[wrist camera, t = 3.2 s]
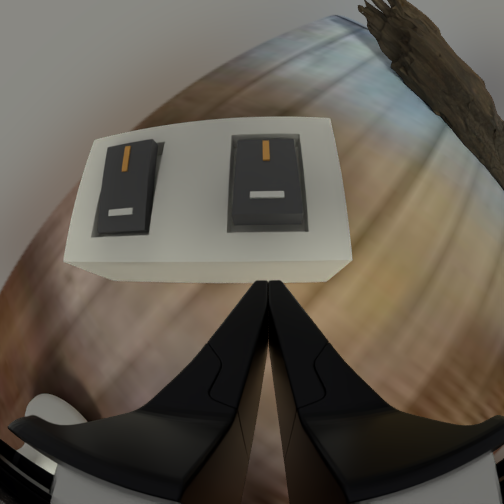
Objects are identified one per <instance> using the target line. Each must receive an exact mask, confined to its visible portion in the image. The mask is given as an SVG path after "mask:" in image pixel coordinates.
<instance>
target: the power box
mask: <svg viewBox="0 0 504 504" xmlns="http://www.w3.org/2000/svg"><path fill="white" fill-rule="evenodd" d="M148 139H153V140H154V141H155V142H156V143H157V144H158V151H157V160H156V169H155V180H154V193H153V208H152V215H151V222H150V230H149V232H146V233H124V234H102V233H98V217H99V206H100V196H101V187H102V179H103V172H104V166H105V159H106V153H107V148H108V147H111V146H116V145H121V144H126V143H131V142H137V141H142V140H148ZM248 139H294V144H295V151H296V158H297V166H298V173H299V181H300V189H301V198H302V207H303V218H302V224H287V225H234V223H233V218H232V204H233V191H234V178H235V166H236V154H237V142H238V140H248ZM351 261H352V251H351V241H350V232H349V223H348V215H347V207H346V200H345V194H344V187H343V181H342V175H341V169H340V164H339V158H338V153H337V148H336V143H335V138H334V133H333V129H332V124H331V120H330V118H319V117H242V118H226V119H213V120H203V121H194V122H185V123H178V124H171V125H164V126H158V127H152V128H146V129H141V130H135V131H130V132H126V133H121V134H117V135H112V136H108V137H104V138H100V139H96V140H94V143H93V146H92V148H91V151H90V154H89V157H88V160H87V163H86V166H85V169H84V172H83V176H82V179H81V182H80V186H79V189H78V193H77V197H76V201H75V205H74V209H73V213H72V217H71V222H70V227H69V232H68V237H67V242H66V248H65V254H64V261H63V262H65V263H68V264H70V265H73V266H75V267H78V268H81V269H83V270H86V271H88V272H91V273H94V274H96V275H99V276H102V277H104V278H107V279H110V280H113V281H135V282H174V283H254V282H255V281H256V280H267V281H268V282H269V281H270V280H281V281H282V282H283V283H296V282H327V281H328V280H329V279H330V278H332V277H333V276H334V275H335V274H336V273H338V272H339V271H340V270H341V269H342V268H344V267H345V266H346V265H347V264H348V263H349V262H351Z"/></svg>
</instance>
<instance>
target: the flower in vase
mask: <svg viewBox="0 0 504 504" xmlns="http://www.w3.org/2000/svg"><path fill="white" fill-rule="evenodd" d="M30 415H36V416H38V417H40V418H42V419H44V420H46V421H48V422H50V423H53V424H59V425H73V424H80V423H85V422H87V420H86V419H85V418H84V417H83V416H82V415H81V414H80V413H79V412H78V411H77V410H76V409H75V408H74V407H72V406H71V405H70V404H68V403H67V402H65V401H64V400H62V399H60V398H59V397H57V396H54V395H51V394H40V395H37V396H36V397H35V398H34V399H33V400H31V401H30V403H29V404H28V406H27V409H26V413H25V417H26V416H30ZM16 451H18V452H19V453H20V454H22V455H23V456H25V457H26V458H28V459H29V460H31V461H32V462H34V463H35V464H37V465H38V466H40V467H42V468H43V469H45V470H46V471H48V472H50V473H52V474H53V475H54V474H55V470H56V467H57V463H55V462H54V461H52V460H50V459H49V458H47V457H46V456H44V455H43V454H41V453H40V452H38V451H37V450H35V449H34V448H32V447H31V446H30V445H28V444H27V443H25V444H24V445H23V447H22V448H20V449H19V450H16Z"/></svg>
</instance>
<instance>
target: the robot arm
mask: <svg viewBox="0 0 504 504" xmlns="http://www.w3.org/2000/svg"><path fill="white" fill-rule="evenodd" d="M268 339H269V352H270V360H271V367H272V374H273V382H274V389H275V396H276V404H277V411H278V419H279V426H280V434H281V441H282V449H283V457H284V461H285V462H284V464H285V472H286V480H287V487H288V495H289V503H290V504H504V459H503V460H501V461H500V462H498V463H497V464H495V460H494V456H493V452H494V451H495V450H497V449H498V448H499V447H501V446H502V445H504V416H501V415H496V416H494V417H492V418H490V419H488V420H486V421H484V422H482V423H479V424H476V425H456V424H451V423H446V422H441V421H437V420H432V419H428V418H424V417H420V416H416V415H412V414H409V413H405V412H402V411H399V410H397V409H395V408H394V407H392V406H391V405H389V404H388V403H387V402H385V401H384V400H383V399H382V398H381V397H380V396H379V395H378V394H377V393H376V392H375V391H374V390H373V389H372V388H371V387H370V386H369V385H368V384H367V383H366V382H365V381H364V380H363V379H362V378H361V377H360V376H358V375H357V374H356V373H355V371H354V370H353V369H352V368H351V367H350V366H349V365H348V364H347V363H346V362H345V361H344V360H343V359H342V357H341V356H340V355H339V354H338V353H337V351H336V350H335V349H334V348H333V346H332V345H331V344H330V343H328V342H329V341H328V340H327V339H326V337H325V336H324V335H323V333H322V332H321V331H320V330H319V328H318V327H317V326H316V324H315V323H314V322H313V321H312V319H311V318H310V317H309V315H308V314H307V313H306V312H305V310H304V309H303V308H302V307H301V305H300V304H299V303H298V301H297V300H296V299H295V298H294V296H293V295H292V294H291V292H290V291H289V290H288V289H287V287H286V286H285V285H284V283H283V282H282V281H281V280H270V281H269V282H268V281H267V280H256V281H255V282H254V283H253V284H252V286H251V287H250V288H249V290H248V291H247V292H246V294H245V295H244V296H243V297H242V299H241V300H240V301H239V303H238V304H237V305H236V306H235V308H234V309H233V310H232V312H231V313H230V314H229V315H228V317H227V318H226V319H225V320H224V322H223V323H222V324H221V326H220V327H219V328H218V329H217V331H216V332H215V333H214V334H213V336H212V337H211V338H210V340H209V341H208V342H207V343H206V344H205V346H204V347H203V348H202V349H201V351H200V352H199V353H198V354H197V355H196V357H195V358H194V359H193V360H192V361H191V362H190V363H189V364H188V365H187V366H186V367H185V368H184V369H183V370H182V371H181V372H180V373H179V374H178V375H177V376H176V377H175V378H174V379H173V380H172V381H171V382H170V383H169V384H168V385H167V386H166V387H165V388H163V389H162V390H161V391H160V392H159V393H158V394H157V395H156V396H155V397H154V398H153V399H151V400H150V401H149V402H148V403H147V404H145V405H144V406H142V407H141V408H139V409H137V410H135V411H132V412H129V413H125V414H121V415H117V416H113V417H109V418H104V419H100V420H95V421H90V422H85V423H80V424H73V425H59V424H53V423H50V422H48V421H46V420H44V419H42V418H40V417H38V416H36V415H30V416H26V417H22V418H19V419H16V420H15V421H13V422H12V423H11V424H10V425H9V426H8V429H9V430H10V431H11V432H12V433H14V434H15V435H16V436H17V437H19V438H20V439H21V440H23V441H24V442H25V443H27V444H28V445H30V446H31V447H32V448H34V449H35V450H37V451H38V452H40V453H41V454H43V455H44V456H46V457H47V458H49V459H50V460H52V461H54V462H55V463H57V467H56V470H55V474H54V475H53V474H52V473H50V472H48V471H46V470H45V469H43V468H42V467H40V466H38V465H37V464H35V463H34V462H32V461H31V460H29V459H28V458H26V457H25V456H23V455H22V454H20V453H19V452H18V451H16V450H15V449H13V448H12V447H11V446H9V445H8V444H7V443H5V442H4V441H2V440H1V439H0V504H240V503H241V499H242V494H243V489H244V484H245V479H246V474H247V469H248V463H249V462H248V461H249V458H250V452H251V447H252V441H253V436H254V430H255V425H256V419H257V413H258V407H259V401H260V395H261V389H262V382H263V376H264V370H265V363H266V356H267V349H268Z"/></svg>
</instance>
